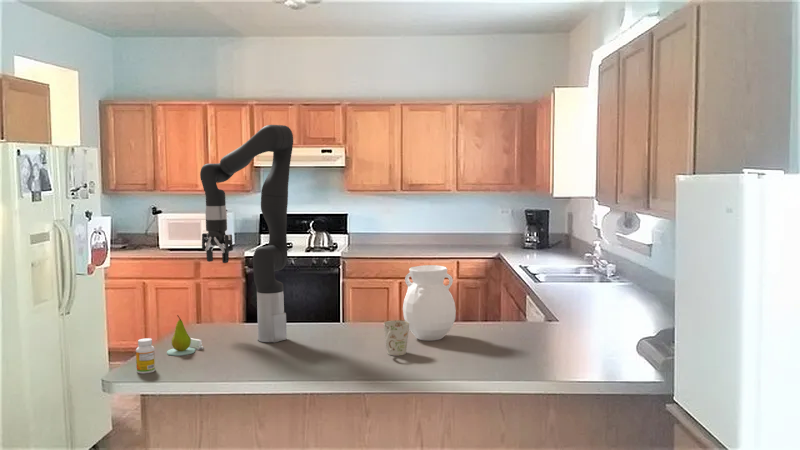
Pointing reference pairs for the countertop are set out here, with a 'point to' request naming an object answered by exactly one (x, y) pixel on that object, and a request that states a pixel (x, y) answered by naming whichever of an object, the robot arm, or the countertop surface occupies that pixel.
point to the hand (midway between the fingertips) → (217, 262)
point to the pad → (180, 352)
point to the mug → (396, 337)
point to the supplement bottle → (145, 356)
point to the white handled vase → (429, 302)
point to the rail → (196, 344)
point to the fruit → (180, 337)
